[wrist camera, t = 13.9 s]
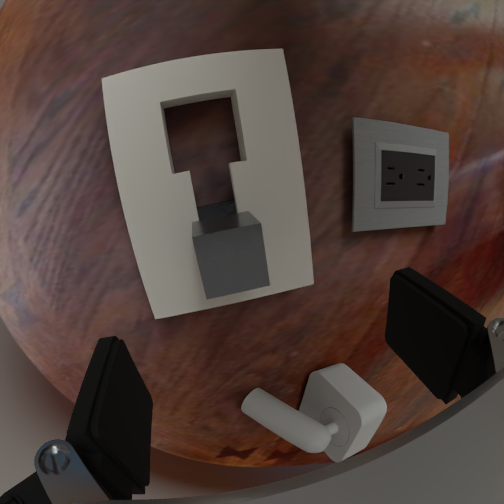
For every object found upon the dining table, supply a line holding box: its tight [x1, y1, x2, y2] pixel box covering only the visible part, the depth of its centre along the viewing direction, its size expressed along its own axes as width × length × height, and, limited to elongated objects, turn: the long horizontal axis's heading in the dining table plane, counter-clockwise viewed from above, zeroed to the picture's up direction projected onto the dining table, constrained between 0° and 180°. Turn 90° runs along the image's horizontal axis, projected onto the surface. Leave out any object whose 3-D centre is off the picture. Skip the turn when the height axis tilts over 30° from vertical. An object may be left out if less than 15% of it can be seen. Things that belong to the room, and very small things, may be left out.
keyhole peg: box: [192, 200, 270, 299], centre depth 21 cm, size 4×4×9 cm
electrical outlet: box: [352, 117, 449, 232], centre depth 26 cm, size 13×10×2 cm
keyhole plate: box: [102, 49, 314, 319], centre depth 23 cm, size 20×14×3 cm
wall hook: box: [241, 363, 387, 462], centre depth 29 cm, size 10×12×12 cm
